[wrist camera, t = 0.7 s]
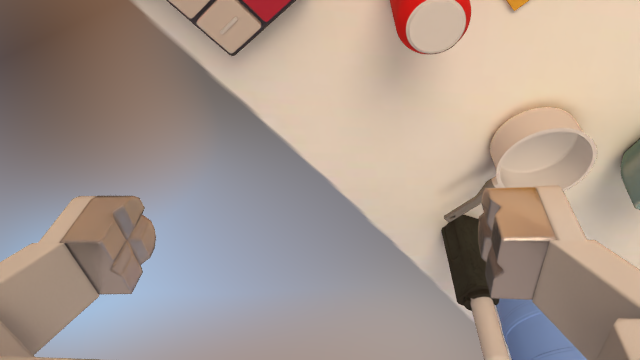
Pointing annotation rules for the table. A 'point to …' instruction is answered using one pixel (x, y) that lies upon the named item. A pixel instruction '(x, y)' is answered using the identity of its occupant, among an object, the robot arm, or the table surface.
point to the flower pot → (632, 173)
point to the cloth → (516, 3)
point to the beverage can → (431, 23)
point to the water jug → (533, 333)
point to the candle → (473, 284)
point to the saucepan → (537, 153)
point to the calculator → (231, 19)
